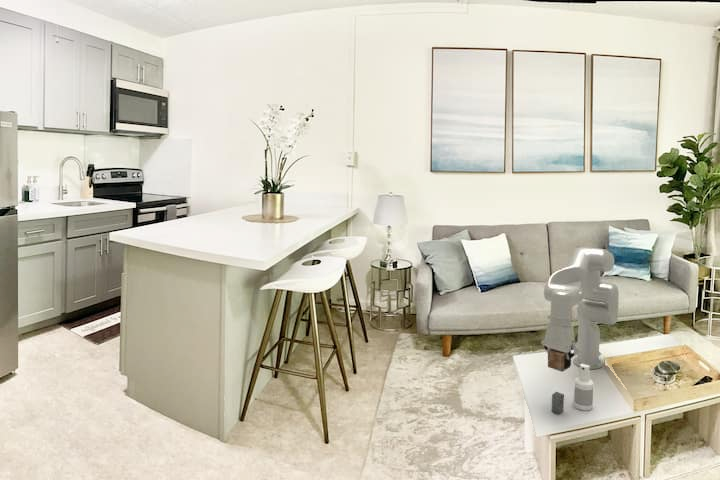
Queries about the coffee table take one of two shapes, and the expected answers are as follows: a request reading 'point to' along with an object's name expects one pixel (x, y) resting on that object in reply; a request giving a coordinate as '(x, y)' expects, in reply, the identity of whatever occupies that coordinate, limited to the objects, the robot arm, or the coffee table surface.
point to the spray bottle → (583, 389)
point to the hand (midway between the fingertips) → (559, 364)
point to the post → (557, 402)
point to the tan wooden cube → (556, 360)
